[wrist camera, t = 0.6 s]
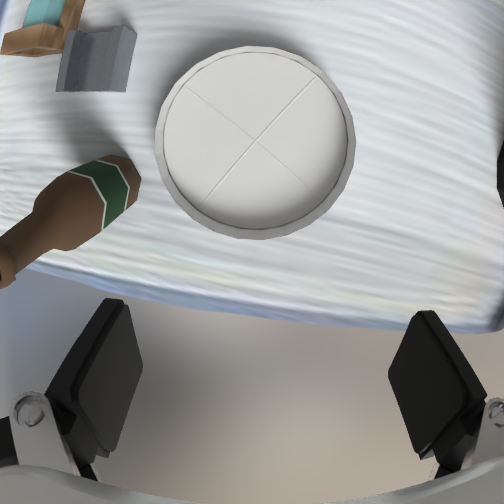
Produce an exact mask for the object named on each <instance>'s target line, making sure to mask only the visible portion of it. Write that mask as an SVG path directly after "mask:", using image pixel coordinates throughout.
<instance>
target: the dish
mask: <svg viewBox="0 0 504 504" xmlns="http://www.w3.org/2000/svg"><path fill="white" fill-rule="evenodd" d="M355 147H356V137H355V131H354V125H353V118H352V115H351V113H350V110H349V108H348V106H347V104H346V102H345V99H344V97H343V95H342V93H341V92H340V90H339V89H338V88H337V87H336V85H335V84H334V83H333V82H332V81H331V80H330V78H329V77H328V76H327V75H326V74H325V73H324V72H323V71H322V70H321V69H319V68H318V67H316V66H315V65H313V64H312V63H310V62H309V61H307V60H306V59H304V58H303V57H301V56H298V55H295V54H293V53H290V52H287V51H284V50H281V49H277V48H273V47H258V46H244V47H239V48H235V49H230V50H226V51H221V52H218V53H216V54H214V55H212V56H211V57H209V58H207V59H205V60H203V61H201V62H199V63H197V64H196V65H194V66H193V67H192V68H191V69H190V70H189V71H188V72H187V73H186V74H185V75H183V76H182V77H181V78H180V79H179V80H178V81H177V82H176V83H175V85H174V86H173V88H172V90H171V91H170V93H169V95H168V96H167V98H166V100H165V101H164V103H163V105H162V107H161V111H160V114H159V118H158V122H157V125H156V129H155V157H156V161H157V164H158V168H159V171H160V175H161V178H162V181H163V183H164V184H165V186H166V188H167V189H168V191H169V193H170V194H171V196H172V198H173V199H174V201H175V202H176V203H177V204H178V205H179V206H180V207H181V208H182V209H183V210H184V211H185V212H186V213H187V214H188V215H189V216H190V217H191V218H192V219H193V220H195V221H197V222H198V223H200V224H202V225H204V226H205V227H207V228H209V229H210V230H212V231H214V232H217V233H221V234H224V235H227V236H231V237H234V238H237V239H254V240H265V239H270V238H275V237H281V236H286V235H289V234H291V233H293V232H295V231H297V230H300V229H302V228H304V227H306V226H308V225H310V224H311V223H313V222H314V221H315V220H316V219H318V218H319V217H320V216H322V215H323V214H324V213H325V212H327V211H328V210H329V209H330V207H331V206H332V205H333V203H334V202H335V201H336V200H337V198H338V197H339V196H340V194H341V193H342V191H343V190H344V188H345V185H346V183H347V181H348V178H349V176H350V173H351V171H352V168H353V164H354V156H355Z"/></svg>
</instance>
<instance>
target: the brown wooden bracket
mask: <svg viewBox="0 0 504 504" xmlns="http://www.w3.org/2000/svg"><path fill="white" fill-rule="evenodd" d="M84 3H85V0H65V3H64V7H63V10H62V13H61V17H60V20H59V24H58V27H57V26H53V25H50V24H46V23H41V24H37V25H33V26H29V27H26V28H22V29H19V30H15V31H12V32H9V33H6V34H5V35H4V39H3V43H2V47H1V52H0V55H15V56H27V57H38V56H44V55H51V54H58V53H63V48H64V44H65V40H66V36H67V32H68V31H72V30H77V27H78V23H79V20H80V16H81V13H82V9H83V6H84Z"/></svg>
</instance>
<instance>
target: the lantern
mask: <svg viewBox="0 0 504 504" xmlns="http://www.w3.org/2000/svg"><path fill="white" fill-rule="evenodd" d="M497 190H498V192H499V195H500V198H501V201H502V204H503V207H504V141H503V145H502V148H501V151H500V155H499V158H498V161H497Z"/></svg>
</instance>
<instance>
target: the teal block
mask: <svg viewBox="0 0 504 504" xmlns="http://www.w3.org/2000/svg"><path fill="white" fill-rule="evenodd" d="M64 3H65V0H31V1H30V4H29V7H28V11H27V14H26V17H25V21H24V24H23V28H26V27H29V26H33V25H37V24H41V23H46V24H50V25H53V26H57V27H58V24H59V20H60V17H61V13H62V10H63V7H64Z"/></svg>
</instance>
